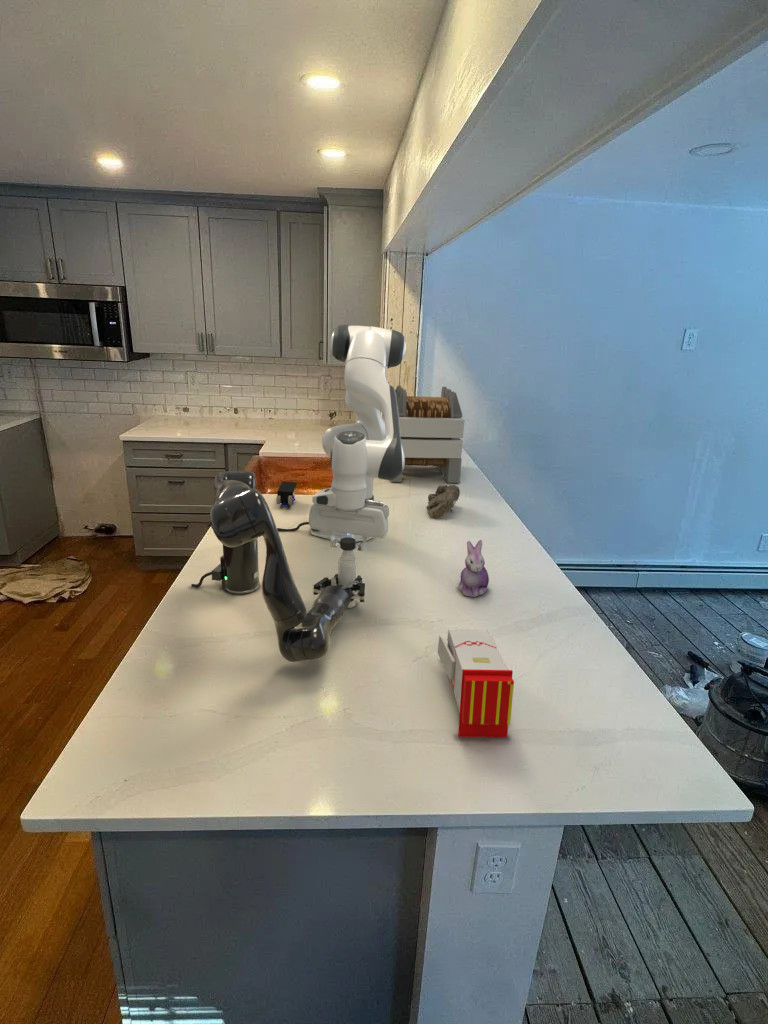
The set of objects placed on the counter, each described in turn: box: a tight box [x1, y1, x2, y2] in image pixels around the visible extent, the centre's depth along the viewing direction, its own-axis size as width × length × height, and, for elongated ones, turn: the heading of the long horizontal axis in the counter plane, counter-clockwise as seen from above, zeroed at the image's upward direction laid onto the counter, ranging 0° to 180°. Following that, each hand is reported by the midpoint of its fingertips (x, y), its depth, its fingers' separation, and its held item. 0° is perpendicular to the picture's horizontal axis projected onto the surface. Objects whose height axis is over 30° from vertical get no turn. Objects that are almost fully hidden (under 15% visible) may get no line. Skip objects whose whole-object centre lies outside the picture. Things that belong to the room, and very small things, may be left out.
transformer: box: [390, 384, 465, 484], centre depth 268 cm, size 34×33×41 cm
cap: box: [339, 537, 357, 551], centre depth 146 cm, size 4×4×2 cm
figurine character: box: [275, 480, 298, 509], centre depth 223 cm, size 7×8×15 cm
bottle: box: [337, 550, 358, 609], centre depth 149 cm, size 5×5×18 cm
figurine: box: [459, 539, 490, 598], centre depth 159 cm, size 9×10×15 cm
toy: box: [437, 628, 515, 738], centre depth 117 cm, size 12×13×30 cm
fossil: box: [426, 484, 461, 519], centre depth 223 cm, size 22×10×15 cm
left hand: (349, 577), depth 152 cm, fingers closed on bottle, 4 cm apart
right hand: (347, 548), depth 146 cm, fingers open, 6 cm apart
